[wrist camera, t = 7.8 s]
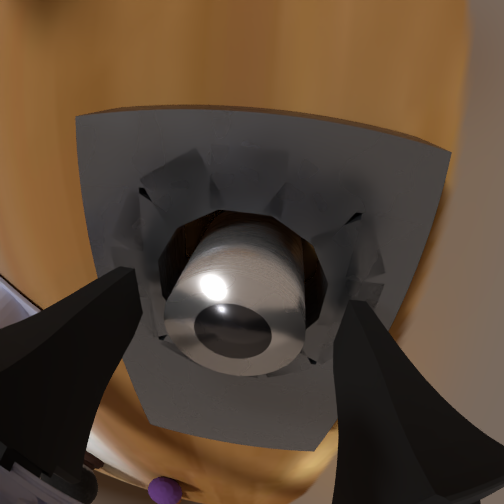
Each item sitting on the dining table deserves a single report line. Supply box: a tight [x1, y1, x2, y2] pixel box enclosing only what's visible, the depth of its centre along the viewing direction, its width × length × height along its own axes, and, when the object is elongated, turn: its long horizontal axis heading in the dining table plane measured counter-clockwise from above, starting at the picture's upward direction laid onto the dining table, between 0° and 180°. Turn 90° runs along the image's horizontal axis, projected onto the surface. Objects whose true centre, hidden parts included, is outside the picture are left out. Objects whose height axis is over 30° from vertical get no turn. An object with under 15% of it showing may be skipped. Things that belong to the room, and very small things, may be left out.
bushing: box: [164, 210, 306, 376], centre depth 11 cm, size 4×4×5 cm
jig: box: [76, 105, 452, 451], centre depth 14 cm, size 20×12×3 cm, turn 176°
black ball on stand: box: [40, 451, 104, 504], centre depth 37 cm, size 13×13×15 cm
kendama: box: [148, 477, 182, 504], centre depth 40 cm, size 6×6×20 cm
